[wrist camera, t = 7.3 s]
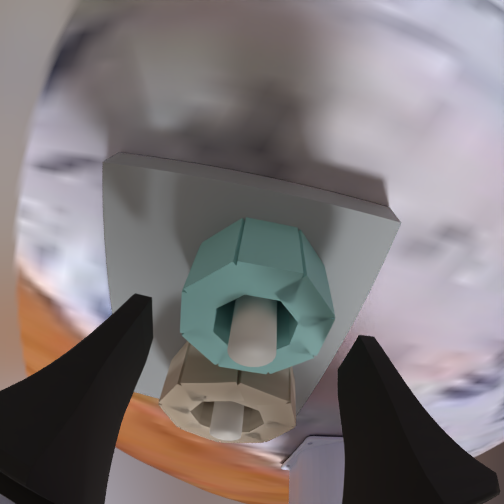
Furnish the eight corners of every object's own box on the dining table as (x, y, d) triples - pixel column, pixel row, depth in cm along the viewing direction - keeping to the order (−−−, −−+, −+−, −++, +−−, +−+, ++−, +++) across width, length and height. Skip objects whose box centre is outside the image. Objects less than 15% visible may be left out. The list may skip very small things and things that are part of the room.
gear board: (292, 404, 21) (292, 470, 16) (132, 373, 20) (110, 436, 16) (389, 207, 13) (442, 283, 8) (119, 152, 12) (41, 203, 7)
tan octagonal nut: (298, 399, 18) (299, 440, 16) (197, 403, 19) (189, 441, 17) (284, 328, 15) (285, 378, 12) (157, 337, 16) (141, 381, 13)
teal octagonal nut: (301, 328, 15) (304, 379, 12) (193, 309, 14) (179, 358, 12) (336, 235, 12) (352, 282, 9) (204, 209, 12) (184, 250, 9)
